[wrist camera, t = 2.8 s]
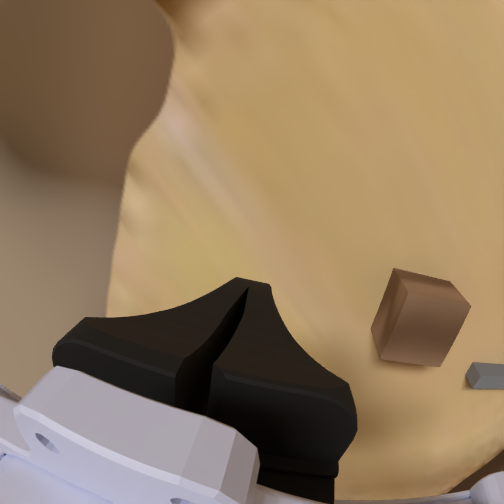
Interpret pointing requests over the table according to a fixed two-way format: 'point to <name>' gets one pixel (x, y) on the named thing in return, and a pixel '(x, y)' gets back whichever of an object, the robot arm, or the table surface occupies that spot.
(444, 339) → the walnut block
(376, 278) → the table surface
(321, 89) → the table surface
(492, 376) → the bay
